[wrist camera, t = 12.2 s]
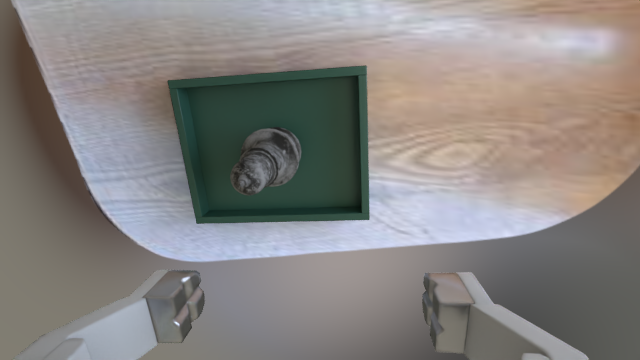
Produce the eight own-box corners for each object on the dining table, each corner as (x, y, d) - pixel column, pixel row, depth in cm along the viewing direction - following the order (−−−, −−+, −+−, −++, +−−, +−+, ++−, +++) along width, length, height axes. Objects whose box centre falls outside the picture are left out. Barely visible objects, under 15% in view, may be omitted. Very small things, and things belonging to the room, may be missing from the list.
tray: (181, 81, 32) (167, 80, 29) (365, 67, 30) (366, 65, 27) (206, 214, 36) (196, 223, 34) (367, 210, 34) (369, 219, 32)
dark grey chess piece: (252, 175, 34) (204, 220, 22) (249, 123, 32) (195, 143, 21) (304, 177, 33) (281, 224, 22) (304, 124, 32) (279, 145, 20)
